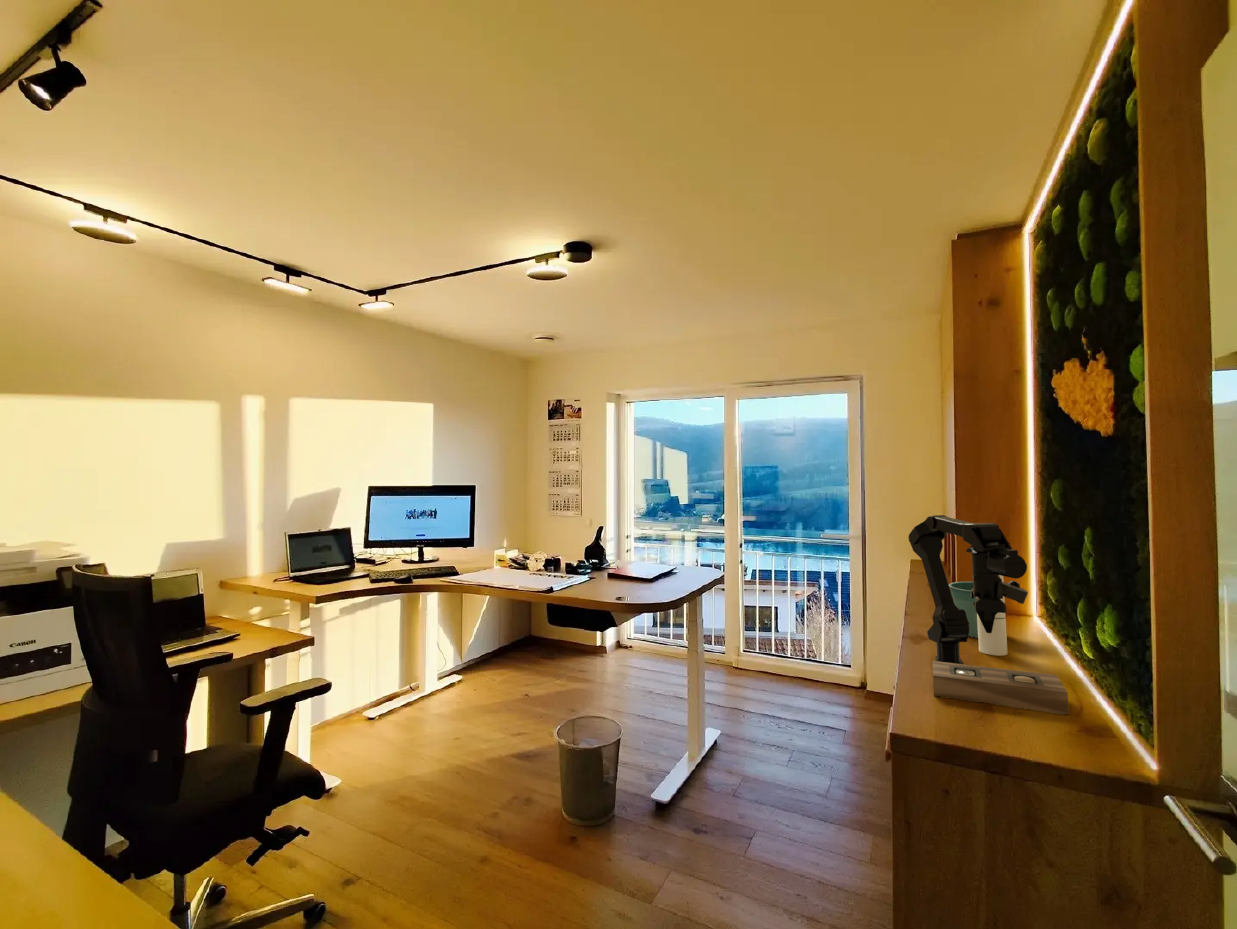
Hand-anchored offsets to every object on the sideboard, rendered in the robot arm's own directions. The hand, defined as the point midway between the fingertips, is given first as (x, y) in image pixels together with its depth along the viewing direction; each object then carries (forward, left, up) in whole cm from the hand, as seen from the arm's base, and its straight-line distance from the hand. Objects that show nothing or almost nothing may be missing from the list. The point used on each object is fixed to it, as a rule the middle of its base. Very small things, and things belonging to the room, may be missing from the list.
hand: (988, 632), depth 142 cm
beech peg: (+9, +6, -13) cm, 17 cm away
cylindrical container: (-30, +3, -13) cm, 33 cm away
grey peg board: (+9, 0, -13) cm, 16 cm away
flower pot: (-50, +1, -13) cm, 52 cm away
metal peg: (+9, -6, -13) cm, 17 cm away
